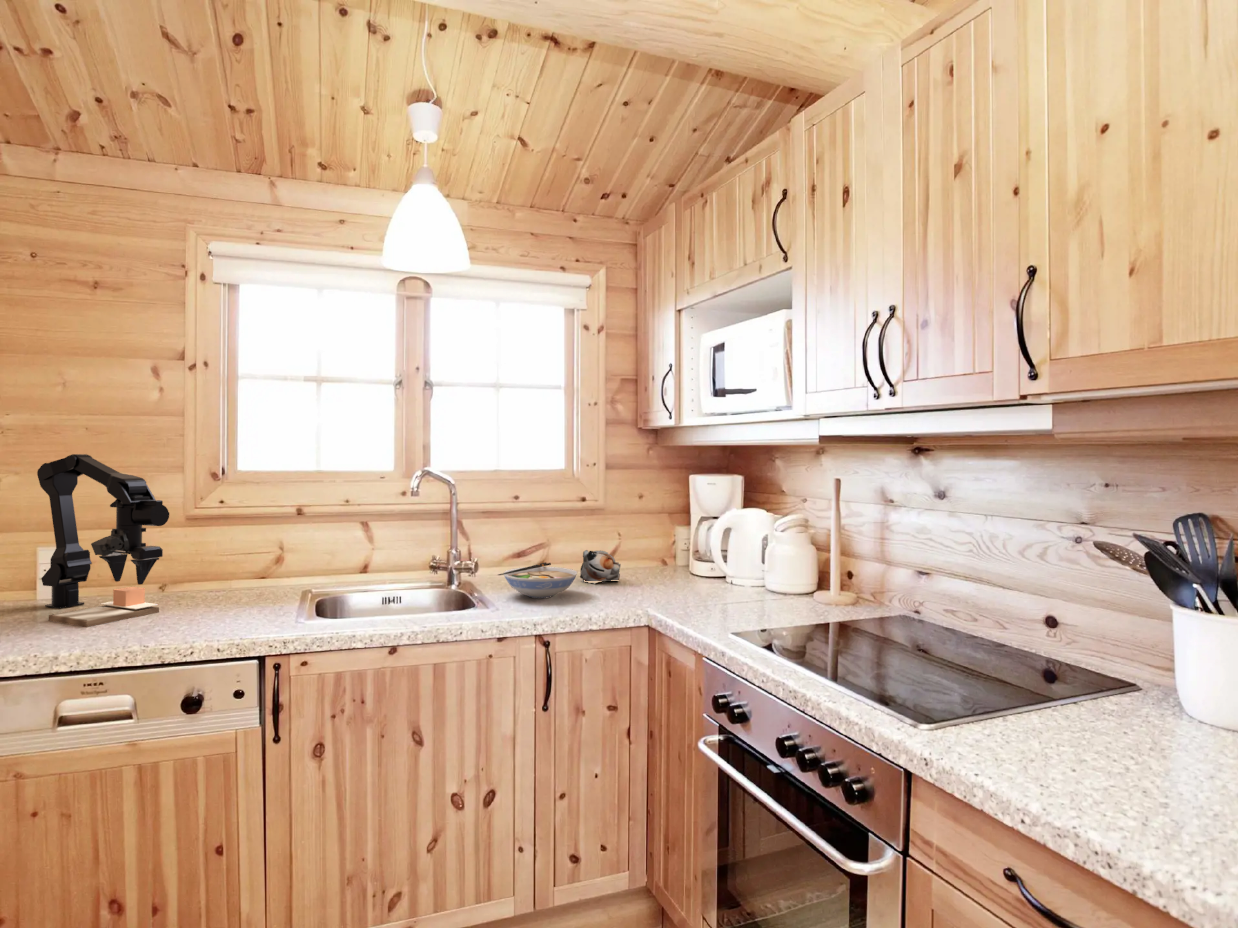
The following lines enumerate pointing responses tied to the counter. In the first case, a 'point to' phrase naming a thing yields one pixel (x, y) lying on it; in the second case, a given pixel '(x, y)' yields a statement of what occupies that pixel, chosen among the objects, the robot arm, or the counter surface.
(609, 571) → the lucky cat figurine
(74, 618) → the board
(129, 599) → the butter dish
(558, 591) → the ramen bowl
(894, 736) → the counter surface
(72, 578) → the robot arm
